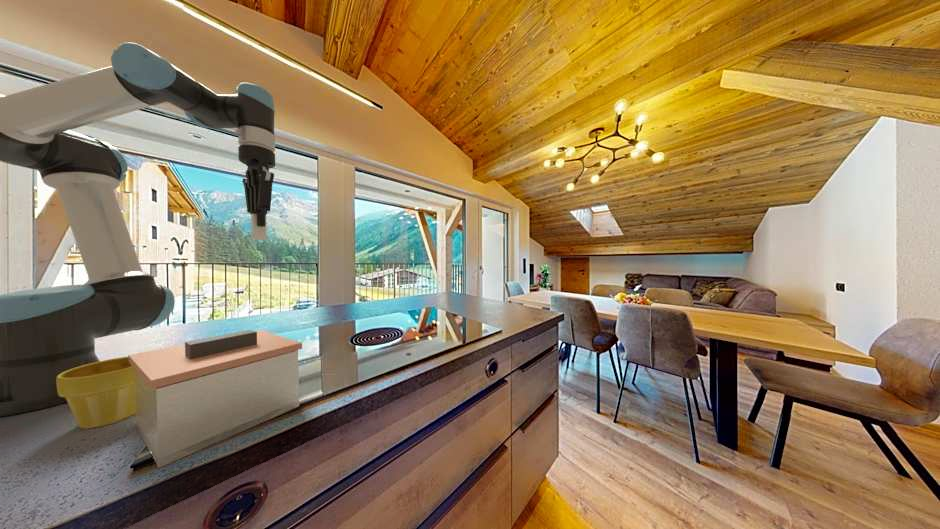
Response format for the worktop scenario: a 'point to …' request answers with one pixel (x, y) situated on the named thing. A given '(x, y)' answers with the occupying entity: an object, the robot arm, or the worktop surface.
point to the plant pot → (99, 392)
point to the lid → (208, 356)
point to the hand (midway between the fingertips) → (259, 239)
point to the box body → (214, 405)
